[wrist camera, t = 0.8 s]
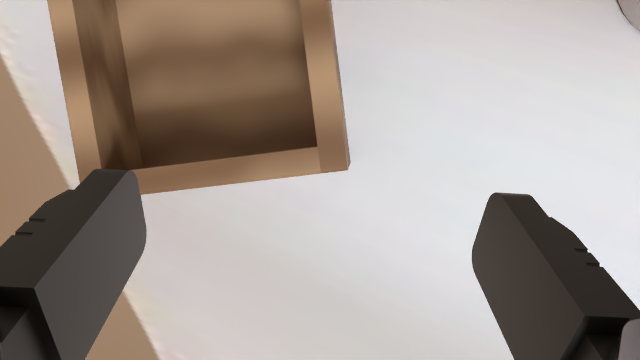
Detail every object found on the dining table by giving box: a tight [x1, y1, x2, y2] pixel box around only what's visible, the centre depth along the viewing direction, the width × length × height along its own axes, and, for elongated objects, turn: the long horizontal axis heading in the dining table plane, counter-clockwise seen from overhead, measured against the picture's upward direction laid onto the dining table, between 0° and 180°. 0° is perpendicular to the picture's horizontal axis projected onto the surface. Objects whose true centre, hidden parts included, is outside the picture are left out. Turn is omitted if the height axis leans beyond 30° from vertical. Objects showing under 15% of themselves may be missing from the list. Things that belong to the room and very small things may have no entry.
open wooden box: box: [47, 0, 350, 195], centre depth 29 cm, size 17×17×7 cm
